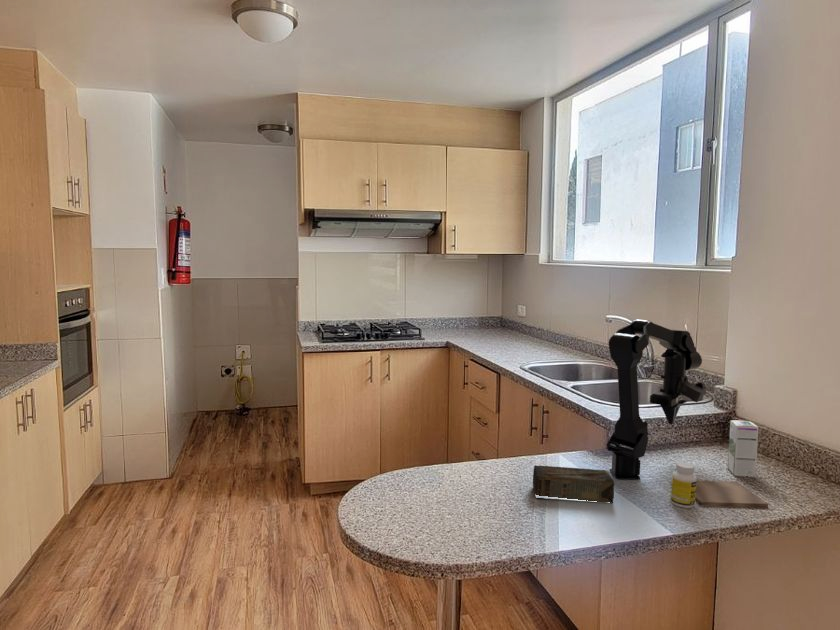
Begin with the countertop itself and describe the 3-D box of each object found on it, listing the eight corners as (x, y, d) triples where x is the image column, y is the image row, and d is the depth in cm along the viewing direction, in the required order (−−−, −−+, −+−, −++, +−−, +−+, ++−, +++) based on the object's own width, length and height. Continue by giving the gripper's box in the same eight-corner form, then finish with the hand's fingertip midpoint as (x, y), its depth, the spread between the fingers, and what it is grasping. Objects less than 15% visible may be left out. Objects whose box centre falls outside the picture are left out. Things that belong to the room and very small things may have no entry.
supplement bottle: (693, 510, 134) (696, 470, 133) (668, 505, 137) (671, 465, 136) (696, 502, 138) (698, 463, 138) (672, 497, 141) (674, 459, 140)
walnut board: (701, 506, 137) (701, 502, 136) (676, 483, 150) (676, 479, 150) (768, 507, 136) (768, 503, 136) (736, 485, 150) (737, 481, 150)
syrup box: (756, 477, 156) (760, 426, 154) (733, 475, 157) (736, 424, 156) (748, 470, 161) (752, 420, 160) (726, 468, 162) (729, 419, 161)
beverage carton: (614, 505, 137) (616, 478, 136) (534, 500, 139) (535, 474, 138) (607, 492, 145) (608, 467, 144) (531, 488, 146) (532, 463, 146)
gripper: (690, 380, 154) (687, 436, 156) (714, 372, 167) (711, 423, 169) (650, 374, 162) (647, 427, 164) (676, 367, 175) (673, 416, 177)
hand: (671, 423), depth 168 cm, fingers closed
